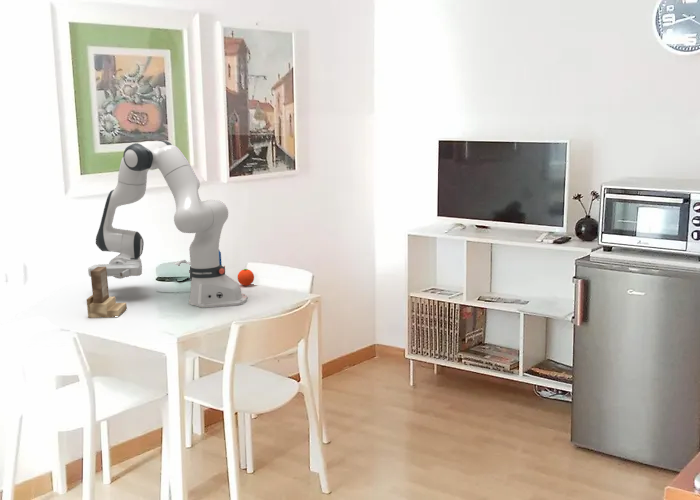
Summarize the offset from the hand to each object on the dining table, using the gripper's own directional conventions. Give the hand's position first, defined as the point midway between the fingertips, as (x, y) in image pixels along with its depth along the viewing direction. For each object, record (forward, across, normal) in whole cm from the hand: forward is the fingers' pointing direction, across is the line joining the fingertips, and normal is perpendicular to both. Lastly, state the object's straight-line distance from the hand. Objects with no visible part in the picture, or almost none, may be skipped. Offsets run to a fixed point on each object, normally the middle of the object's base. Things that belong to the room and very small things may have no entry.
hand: (109, 274), depth 306 cm
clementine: (-28, +48, +12) cm, 57 cm away
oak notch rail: (+12, +2, +12) cm, 17 cm away
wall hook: (-39, +22, +12) cm, 46 cm away
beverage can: (-45, +32, +12) cm, 56 cm away
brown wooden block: (+12, 0, +7) cm, 14 cm away
